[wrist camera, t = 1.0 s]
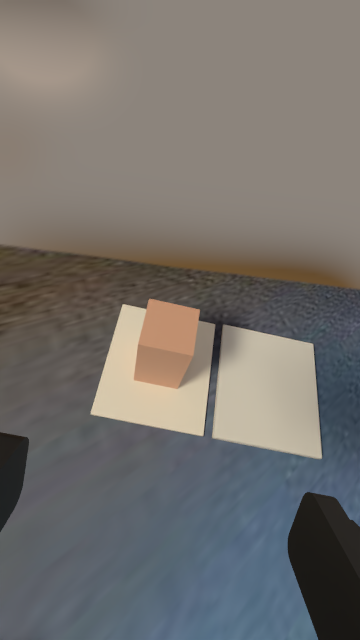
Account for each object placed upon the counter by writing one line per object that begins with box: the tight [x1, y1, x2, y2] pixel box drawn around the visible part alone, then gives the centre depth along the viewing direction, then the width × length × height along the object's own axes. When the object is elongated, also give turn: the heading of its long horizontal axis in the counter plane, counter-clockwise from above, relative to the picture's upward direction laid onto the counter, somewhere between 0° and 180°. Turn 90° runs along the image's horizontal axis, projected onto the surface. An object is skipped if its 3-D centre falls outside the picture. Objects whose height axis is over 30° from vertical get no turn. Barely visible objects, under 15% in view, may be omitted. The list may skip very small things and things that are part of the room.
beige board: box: [212, 325, 322, 459], centre depth 39 cm, size 12×14×1 cm
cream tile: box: [91, 304, 215, 436], centre depth 38 cm, size 12×14×1 cm
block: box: [134, 299, 200, 389], centre depth 34 cm, size 5×5×9 cm
